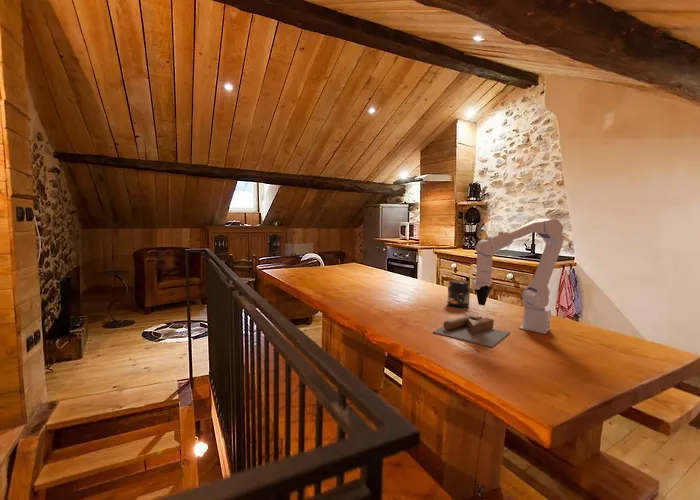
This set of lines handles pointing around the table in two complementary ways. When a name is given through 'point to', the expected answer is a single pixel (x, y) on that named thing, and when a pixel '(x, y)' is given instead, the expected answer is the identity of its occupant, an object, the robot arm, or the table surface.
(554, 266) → the robot arm
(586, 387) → the table surface
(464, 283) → the supplement container
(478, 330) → the wooden block
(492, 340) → the mat
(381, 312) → the table surface
